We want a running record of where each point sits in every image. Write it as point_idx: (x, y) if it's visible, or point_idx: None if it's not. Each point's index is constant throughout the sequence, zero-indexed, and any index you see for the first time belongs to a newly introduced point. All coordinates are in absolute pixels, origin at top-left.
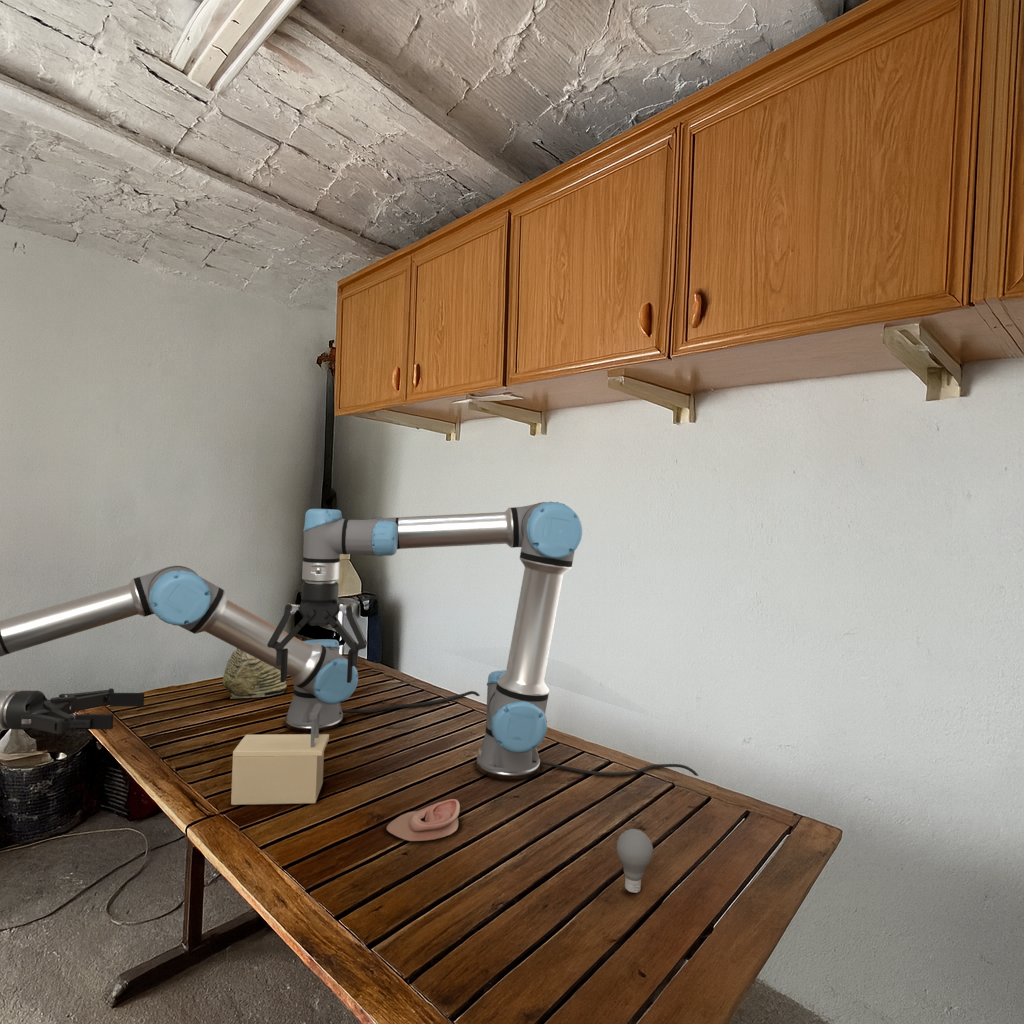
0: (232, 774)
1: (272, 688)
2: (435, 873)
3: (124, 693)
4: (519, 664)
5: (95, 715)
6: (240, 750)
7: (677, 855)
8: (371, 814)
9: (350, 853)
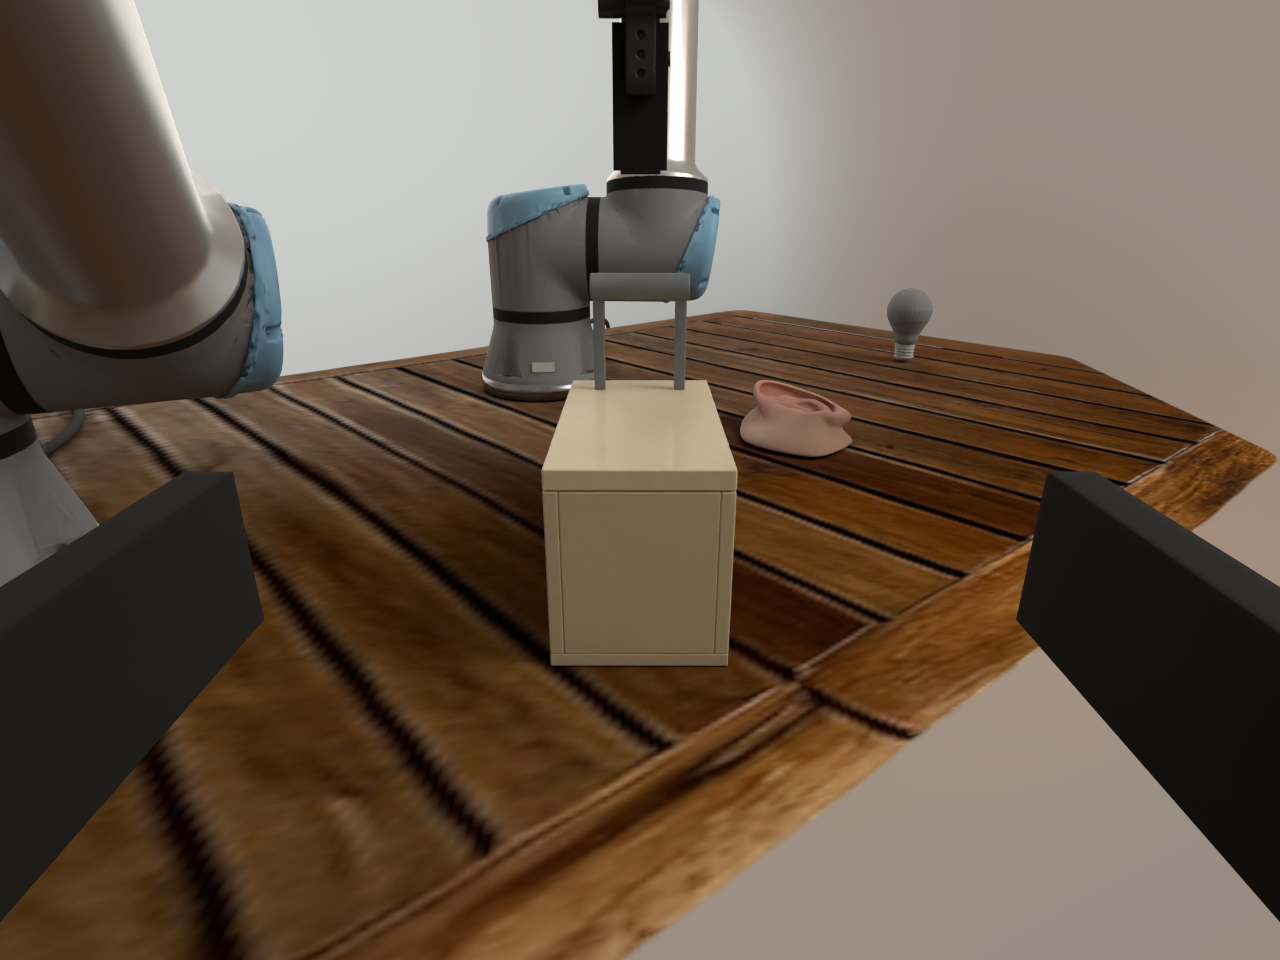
0: (732, 559)
1: None
2: (936, 430)
3: (33, 593)
4: (691, 126)
5: (1225, 556)
6: (725, 460)
7: (814, 345)
8: (750, 473)
9: (919, 484)
